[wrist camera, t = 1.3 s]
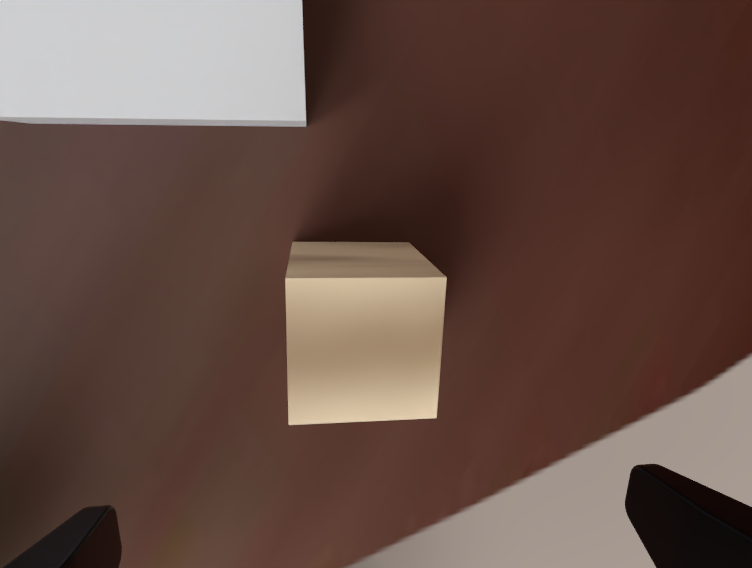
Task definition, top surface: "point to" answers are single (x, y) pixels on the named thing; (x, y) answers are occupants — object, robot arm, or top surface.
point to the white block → (153, 62)
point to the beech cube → (362, 332)
